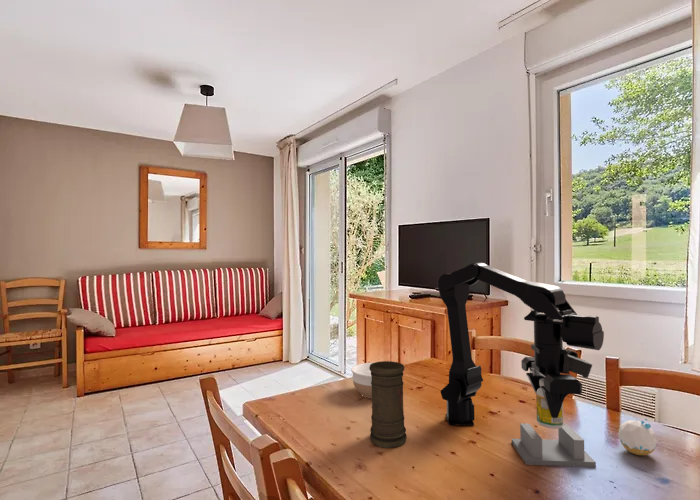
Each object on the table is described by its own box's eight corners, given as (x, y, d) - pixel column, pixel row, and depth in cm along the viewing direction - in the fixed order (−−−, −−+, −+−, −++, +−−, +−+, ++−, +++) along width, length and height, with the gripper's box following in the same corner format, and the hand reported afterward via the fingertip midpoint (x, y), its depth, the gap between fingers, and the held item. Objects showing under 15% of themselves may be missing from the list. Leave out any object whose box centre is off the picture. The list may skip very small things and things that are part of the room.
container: (382, 451, 91) (381, 372, 92) (363, 436, 99) (361, 363, 100) (414, 442, 96) (413, 366, 96) (393, 428, 103) (392, 358, 104)
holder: (526, 464, 85) (525, 440, 85) (511, 442, 95) (511, 421, 95) (595, 466, 83) (595, 442, 83) (573, 444, 93) (573, 422, 93)
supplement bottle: (560, 431, 85) (559, 386, 85) (533, 424, 89) (532, 381, 89) (566, 423, 90) (565, 380, 90) (540, 417, 93) (539, 375, 93)
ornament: (617, 455, 88) (616, 418, 88) (621, 443, 94) (620, 408, 94) (655, 465, 84) (654, 426, 84) (657, 452, 89) (656, 415, 89)
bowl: (369, 382, 142) (368, 360, 142) (409, 390, 132) (409, 366, 133) (341, 395, 129) (341, 370, 129) (384, 405, 119) (384, 379, 120)
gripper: (609, 352, 79) (610, 432, 79) (567, 334, 98) (568, 398, 98) (550, 352, 80) (551, 430, 80) (520, 333, 99) (521, 397, 99)
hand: (549, 412), depth 89 cm, fingers closed on supplement bottle, 5 cm apart
